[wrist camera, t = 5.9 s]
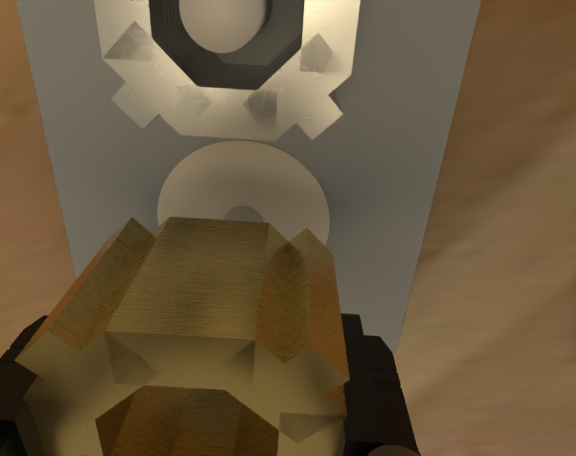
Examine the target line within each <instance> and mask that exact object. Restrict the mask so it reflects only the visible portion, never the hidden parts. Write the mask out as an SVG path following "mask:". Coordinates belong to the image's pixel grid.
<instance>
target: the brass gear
mask: <svg viewBox="0 0 576 456" xmlns="http://www.w3.org/2000/svg"><path fill="white" fill-rule="evenodd" d="M14 361H16V362H18V363H19V364H21V365H22V366H24V367H26V368H27V369H29V370H30V371H32V372H34V373H35V374H37V375H38V376H37V378H36V379H35V381H34V382H33V384H32V385H31V386H30V388H29V389H28V391H27V392H26V394H25V395H24V397H23V400H24V401H28V404H29V407H30V410H31V413H32V416H33V419H34V422H35V425H36V428H37V431H38V434H39V437H40V440H41V443H42V446H43V449H44V452H45V455H46V456H337V450H338V445H339V439H340V434H341V429H342V423H343V419H345V420H347V410H346V402H345V393H344V385H343V384H344V383H345V382H347V381H349V380H350V377H349V370H348V362H347V355H346V348H345V340H344V333H343V325H342V318H341V311H340V303H339V296H338V289H337V281H336V274H335V266H334V259H333V254H332V253H331V252H330V251H329V250H328V249H327V248H326V247H325V246H324V245H323V243H322V242H321V241H320V240H319V239H318V238H317V237H316V236H315V235H314V234H313V233H312V232H311V231H310V230H309V229H308V228H306V229H305V230H303V231H302V232H301V233H299V234H298V235H297V236H295V237H294V238H293V239H291V240H290V241H289V242H288V241H287V240H286V239H285V238H284V237H283V236H282V235H281V234H280V233H279V232H278V231H277V230H276V229H275V228H274V227H273V226H272V225H271V224H270V223H266V222H250V221H234V220H218V219H202V218H186V217H169V218H168V219H167V220H166V221H164V222H163V223H162V224H161V225H160V226H159V227H158V228H157V229H155V230H154V231H153V232H152V233H151V232H149V231H148V230H147V229H146V228H145V227H144V226H142V225H141V224H140V223H139V222H138V221H137V220H135V219H134V218H133V217H131V218H130V219H129V220H128V221H127V222H126V223H125V224H124V225H123V226H122V227H121V228H119V229H118V230H117V231H116V232H115V233H114V234H113V235H112V236H111V237H110V238H109V239H108V240H107V241H106V242H105V243H104V245H103V246H102V247H101V248H100V250H99V251H98V252H97V254H96V255H95V256H94V258H93V259H92V260H91V261H90V263H89V264H88V265H87V267H86V268H85V269H84V271H83V272H82V273H81V274H80V276H79V277H78V278H77V280H76V281H75V282H74V283H73V285H72V286H71V287H70V289H69V290H68V291H67V293H66V294H65V295H64V296H63V298H62V299H61V300H60V302H59V303H58V304H57V305H56V307H55V308H54V309H53V311H52V312H51V313H50V315H49V316H48V317H47V318H46V320H45V321H44V322H43V324H42V325H41V326H40V328H39V329H38V330H37V331H36V333H35V334H34V335H33V337H32V338H31V339H30V340H29V342H28V343H27V344H26V346H25V347H24V348H23V350H22V351H21V352H20V353H19V355H18V356H17V357H16V359H15V360H14Z"/></svg>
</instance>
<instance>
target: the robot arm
mask: <svg viewBox="0 0 576 456" xmlns="http://www.w3.org/2000/svg"><path fill="white" fill-rule="evenodd" d="M47 317H48V316H45V315H44V316H43V317H41V318H40V319H38V320H37V321H35V322H34V323H32V324H31V325H30V326H28V327H27V328H25V329H24V330H23V331H22V332H21V334H20V335H19V336H18V337H17V338H16V340H15V341H14V342H13V343H12V345H11V346H10V349H9V350H7V351H6V352H5V353H4V354H3V356H2V357H1V358H0V456H46V455H45V452H44V449H43V446H42V443H41V440H40V437H39V434H38V431H37V428H36V425H35V422H34V419H33V416H32V413H31V410H30V407H29V404H28V401H24V400H23V397H24V395H25V394H26V392H27V391H28V389H29V388H30V386H31V385H32V384H33V382H34V381H35V379H36V378H37V376H38V375H37V374H35V373H34V372H32V371H30V370H29V369H27V368H26V367H24V366H22V365H21V364H19V363H18V362H16V361H14V360H15V359H16V357H17V356H18V355H19V353H20V352H21V351H22V350H23V348H24V347H25V346H26V344H27V343H28V342H29V340H30V339H31V338H32V337H33V335H34V334H35V333H36V331H37V330H38V329H39V328H40V326H41V325H42V324H43V322H44V321H45V320H46V318H47ZM341 318H342V325H343V333H344V340H345V348H346V355H347V362H348V370H349V377H350V380H349V381H347V382H345V383H344V384H343V385H344V393H345V402H346V410H347V420H345V419H343V423H342V429H341V434H340V439H339V445H338V450H337V456H421V455H420V453H419V451H418V448H417V445H416V441H415V437H414V434H413V430H412V426H411V422H410V418H409V415H408V411H407V407H406V403H405V399H404V396H403V392H402V388H401V387H400V385H401V384H400V380H399V377H398V373H397V372H396V371H397V369H396V365H395V361H394V358H393V354H392V351H391V350H390V349H389V347H388V346H387V345H386V344H385V342H384V341H383V340H382V338H381V337H380V336H370V335H364V333H363V328H362V323H361V318H360V315H359V314H347V313H341Z"/></svg>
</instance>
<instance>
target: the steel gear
mask: <svg viewBox="0 0 576 456" xmlns="http://www.w3.org/2000/svg"><path fill="white" fill-rule="evenodd" d="M94 5H95V12H96V19H97V27H98V34H99V41H100V48H101V55H102V59H103V60H104V61H105V62H106V63H107V64H108V65H109V66H110V67H111V68H112V69H113V70H114V71H115V72H116V73H117V74H118V75H119V76H120V77H121V78H122V79H123V80H124V81H125V82H126V83H125V84H124V85H123V86H122V87H121V88H120V89H119V90H118V91H117V93H116V94H115V95H114V96H113V97H112V98H111V100H112V101H113V102H114V103H115V104H116V105H117V106H118V107H119V108H120V109H122V110H123V111H124V112H125V113H126V114H127V115H128V116H129V117H130V118H131V119H132V120H133V121H134V122H135V123H136V124H137V125H138V126H139V127H140V128H142V129H144V128H145V127H147V126H148V125H149V124H150V123H151V122H152V121H153V120H155V119H156V118H157V117H158V116H159V115H160V116H161V117H162V118H163V119H164V120H165V121H166V122H167V123H168V124H169V125H170V126H171V127H172V128H173V129H174V130H175V131H176V132H177V133H178V134H179V135H190V136H206V137H221V138H237V139H253V140H269V141H276V140H277V139H278V138H279V137H280V136H281V135H283V134H284V133H285V132H286V131H287V130H288V129H289V128H291V127H292V126H293V125H294V124H295V123H297V124H298V125H299V126H300V127H301V129H302V130H303V131H304V132H305V133H306V134H307V135H308V137H309V138H310V139H311V140H313V139H314V138H316V137H317V136H318V135H319V134H320V133H321V132H323V131H324V130H325V129H326V128H327V127H329V126H330V125H331V124H332V123H333V122H335V121H336V120H337V119H338V118H339V117H341V116H342V115H343V112H342V109H341V106H340V104H339V101H338V98H337V96H336V93H335V90H334V89H335V88H336V87H338V86H339V85H340V84H341V83H342V82H343V81H344V80H346V79H347V78H348V77H349V76H350V75H351V72H352V64H353V56H354V48H355V40H356V32H357V24H358V16H359V8H360V0H303V6H302V21H301V34H300V35H299V36H298V37H297V38H296V39H295V40H294V41H293V42H292V43H291V44H290V45H289V46H288V47H286V48H285V49H284V50H283V51H282V52H281V53H280V54H279V55H278V56H277V57H276V58H275V59H274V60H273V61H272V62H271V63H270V64H269V65H268V66H262V65H246V64H231V63H223V62H222V61H221V60H220V59H219V58H218V56H217V55H216V54H215V53H214V52H212V51H209V50H207V49H205V48H203V47H201V46H200V45H198V44H197V43H196V42H195V41H194V40H193V39H192V38H191V37H190V35H189V34H188V32H187V31H186V29H185V27H184V25H183V22H182V20H181V16H180V9H179V0H94Z"/></svg>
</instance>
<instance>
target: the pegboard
mask: <svg viewBox="0 0 576 456" xmlns="http://www.w3.org/2000/svg"><path fill="white" fill-rule="evenodd" d="M16 3H17V8H18V13H19V17H20V22H21V26H22V31H23V36H24V40H25V45H26V49H27V54H28V59H29V63H30V68H31V72H32V77H33V82H34V86H35V91H36V95H37V100H38V105H39V109H40V114H41V118H42V123H43V128H44V132H45V137H46V141H47V146H48V151H49V155H50V160H51V164H52V169H53V174H54V178H55V183H56V188H57V192H58V197H59V201H60V206H61V211H62V215H63V220H64V224H65V229H66V234H67V238H68V243H69V247H70V252H71V257H72V261H73V266H74V270H75V275H76V280H77V278H78V277H79V276H80V274H81V273H82V272H83V271H84V269H85V268H86V267H87V265H88V264H89V263H90V261H91V260H92V259H93V258H94V256H95V255H96V254H97V252H98V251H99V250H100V248H101V247H102V246H103V245H104V243H105V242H106V241H107V240H108V239H109V238H110V237H111V236H112V235H113V234H114V233H115V232H116V231H117V230H118V229H119V228H121V227H122V226H123V225H124V224H125V223H126V222H127V221H128V220H129V219H130V218H131V217H133V218H134V219H135V220H137V221H138V222H139V223H140V224H141V225H142V226H144V227H145V228H146V229H147V230H148V231H149V232H151V233H152V232H153V231H154V230H155V229H157V228H158V227H159V226H160V225H161V224H162V223H163V222H164V221H166V220H167V219H168V218H169V217H186V218H202V219H218V220H234V221H250V222H266V223H270V224H271V225H272V226H273V227H274V228H275V229H276V230H277V231H278V232H279V233H280V234H281V235H282V236H283V237H284V238H285V239H286V240H287V241H288V242H289V241H290V240H291V239H293V238H294V237H295V236H297V235H298V234H299V233H301V232H302V231H303V230H305V229H306V228H308V229H309V230H310V231H311V232H312V233H313V234H314V235H315V236H316V237H317V238H318V239H319V240H320V241H321V242H322V243H323V245H324V246H325V247H326V248H327V249H328V250H329V251H330V252H331V253H332V254H333V259H334V266H335V274H336V281H337V289H338V296H339V303H340V311H341V313H347V314H359V315H360V318H361V323H362V328H363V333H364V335H370V336H380V337H381V338H382V340H383V341H384V342H385V344H386V345H387V346H388V347H389V349H390V350H391V351H392V353H396V350H397V346H398V342H399V337H400V333H401V329H402V325H403V321H404V317H405V313H406V309H407V304H408V300H409V296H410V292H411V288H412V284H413V280H414V276H415V272H416V267H417V263H418V259H419V255H420V251H421V247H422V243H423V239H424V234H425V230H426V226H427V222H428V218H429V214H430V210H431V206H432V201H433V197H434V193H435V189H436V185H437V181H438V177H439V173H440V169H441V164H442V160H443V156H444V152H445V148H446V144H447V140H448V136H449V131H450V127H451V123H452V119H453V115H454V111H455V107H456V103H457V98H458V94H459V90H460V86H461V82H462V78H463V74H464V70H465V66H466V61H467V57H468V53H469V49H470V45H471V41H472V37H473V33H474V28H475V24H476V20H477V16H478V12H479V8H480V4H481V0H360V8H359V16H358V24H357V32H356V40H355V48H354V56H353V64H352V72H351V75H350V76H349V77H348V78H347V79H346V80H344V81H343V82H342V83H341V84H340V85H339V86H338V87H336V88H335V89H334V90H335V93H336V96H337V98H338V101H339V104H340V106H341V109H342V112H343V115H342V116H341V117H339V118H338V119H337V120H336V121H335V122H333V123H332V124H331V125H330V126H329V127H327V128H326V129H325V130H324V131H323V132H321V133H320V134H319V135H318V136H317V137H316V138H314V139H313V140H311V139H310V138H309V137H308V135H307V134H306V133H305V132H304V131H303V130H302V129H301V127H300V126H299V125H298V124H297V123H295V124H294V125H293V126H292V127H291V128H289V129H288V130H287V131H286V132H285V133H284V134H283V135H281V136H280V137H279V138H278V139H277V140H276V141H269V140H253V139H237V138H221V137H206V136H190V135H179V134H178V133H177V132H176V131H175V130H174V129H173V128H172V127H171V126H170V125H169V124H168V123H167V122H166V121H165V120H164V119H163V118H162V117H161V116H160V115H159V116H158V117H157V118H156V119H155V120H153V121H152V122H151V123H150V124H149V125H148V126H147V127H145V128H144V129H142V128H140V127H139V126H138V125H137V124H136V123H135V122H134V121H133V120H132V119H131V118H130V117H129V116H128V115H127V114H126V113H125V112H124V111H123V110H122V109H120V108H119V107H118V106H117V105H116V104H115V103H114V102H113V101H112V100H111V98H112V97H113V96H114V95H115V94H116V93H117V91H118V90H119V89H120V88H121V87H122V86H123V85H124V84H125V83H126V82H125V81H124V80H123V79H122V78H121V77H120V76H119V75H118V74H117V73H116V72H115V71H114V70H113V69H112V68H111V67H110V66H109V65H108V64H107V63H106V62H105V61H104V60H103V59H102V55H101V48H100V41H99V34H98V27H97V19H96V12H95V5H94V0H16ZM302 6H303V0H179V9H180V16H181V20H182V22H183V25H184V27H185V29H186V31H187V32H188V34H189V35H190V37H191V38H192V39H193V40H194V41H195V42H196V43H197V44H198V45H200V46H201V47H203V48H205V49H207V50H209V51H212V52H214V53H215V54H216V55H217V56H218V58H219V59H220V60H221V61H222V62H223V63H231V64H246V65H262V66H268V65H269V64H270V63H271V62H272V61H273V60H274V59H275V58H276V57H277V56H278V55H279V54H280V53H281V52H282V51H283V50H284V49H285V48H286V47H288V46H289V45H290V44H291V43H292V42H293V41H294V40H295V39H296V38H297V37H298V36H299V35H300V34H301V21H302Z"/></svg>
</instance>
